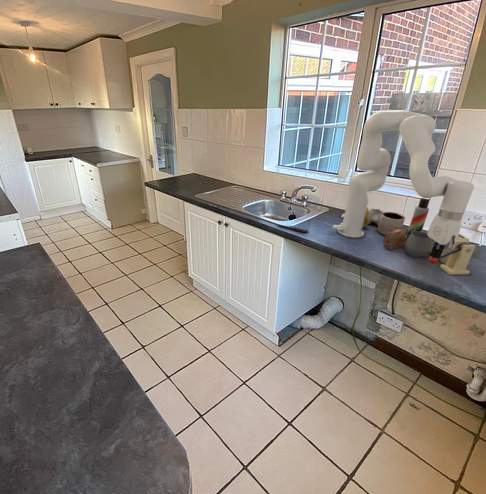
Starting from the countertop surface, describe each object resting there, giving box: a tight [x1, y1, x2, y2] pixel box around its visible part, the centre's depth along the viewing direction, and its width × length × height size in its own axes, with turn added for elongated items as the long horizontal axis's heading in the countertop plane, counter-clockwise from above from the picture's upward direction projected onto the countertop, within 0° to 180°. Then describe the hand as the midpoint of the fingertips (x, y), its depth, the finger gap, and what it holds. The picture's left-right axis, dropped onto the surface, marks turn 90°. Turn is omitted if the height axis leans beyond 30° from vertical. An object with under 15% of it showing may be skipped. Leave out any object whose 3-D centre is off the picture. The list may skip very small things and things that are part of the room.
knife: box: [276, 225, 308, 234], centre depth 165 cm, size 17×1×3 cm
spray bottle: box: [407, 197, 431, 237], centre depth 153 cm, size 6×6×20 cm
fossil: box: [368, 208, 384, 226], centre depth 174 cm, size 18×11×15 cm
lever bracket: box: [439, 240, 477, 275], centre depth 124 cm, size 8×6×13 cm
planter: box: [377, 211, 406, 236], centre depth 159 cm, size 11×11×10 cm
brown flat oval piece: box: [383, 228, 409, 251], centre depth 145 cm, size 15×3×8 cm, turn 117°
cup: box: [404, 231, 432, 258], centre depth 137 cm, size 10×9×10 cm
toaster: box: [427, 233, 470, 265], centre depth 134 cm, size 6×12×12 cm, turn 1°
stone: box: [362, 206, 370, 228], centre depth 165 cm, size 13×10×10 cm
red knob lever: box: [428, 242, 470, 265], centre depth 123 cm, size 15×3×3 cm, turn 90°
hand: (434, 256), depth 124 cm, fingers closed
